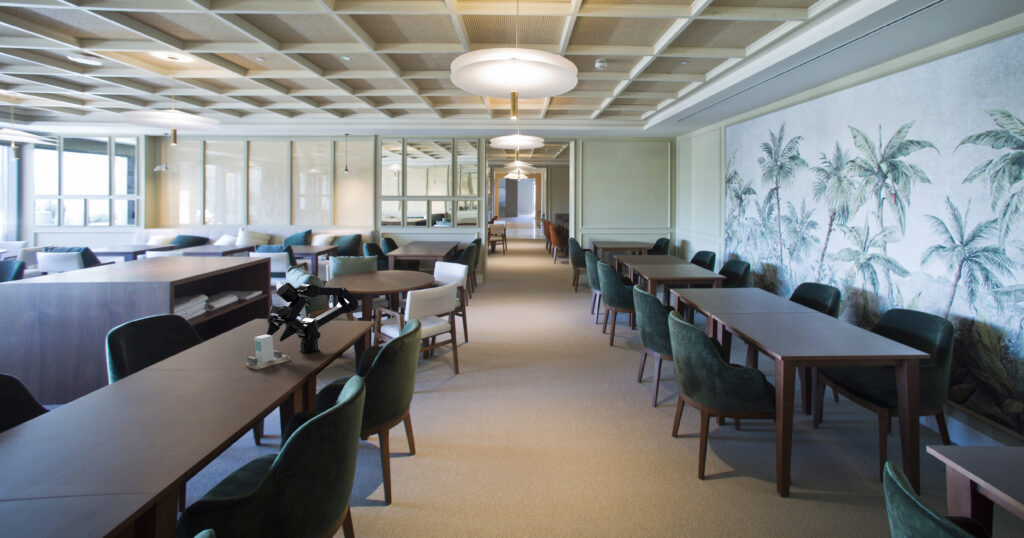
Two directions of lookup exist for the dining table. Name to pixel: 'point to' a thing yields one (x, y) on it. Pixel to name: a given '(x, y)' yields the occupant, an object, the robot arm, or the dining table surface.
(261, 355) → the block
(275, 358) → the rail board
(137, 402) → the dining table surface
